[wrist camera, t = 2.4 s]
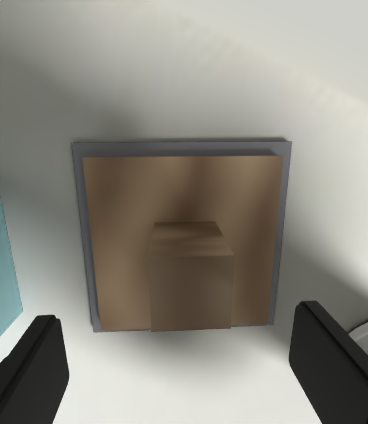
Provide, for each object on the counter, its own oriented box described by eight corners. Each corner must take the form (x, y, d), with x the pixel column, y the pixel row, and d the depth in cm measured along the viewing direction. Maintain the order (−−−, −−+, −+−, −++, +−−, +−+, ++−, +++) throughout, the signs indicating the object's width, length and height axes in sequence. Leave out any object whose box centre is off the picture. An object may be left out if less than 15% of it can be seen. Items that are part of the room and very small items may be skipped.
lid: (277, 155, 19) (336, 161, 12) (263, 315, 23) (302, 389, 16) (87, 156, 18) (38, 164, 12) (104, 322, 22) (74, 401, 15)
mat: (288, 141, 19) (291, 141, 19) (270, 320, 23) (273, 325, 23) (74, 142, 19) (71, 142, 18) (95, 327, 23) (93, 332, 22)
